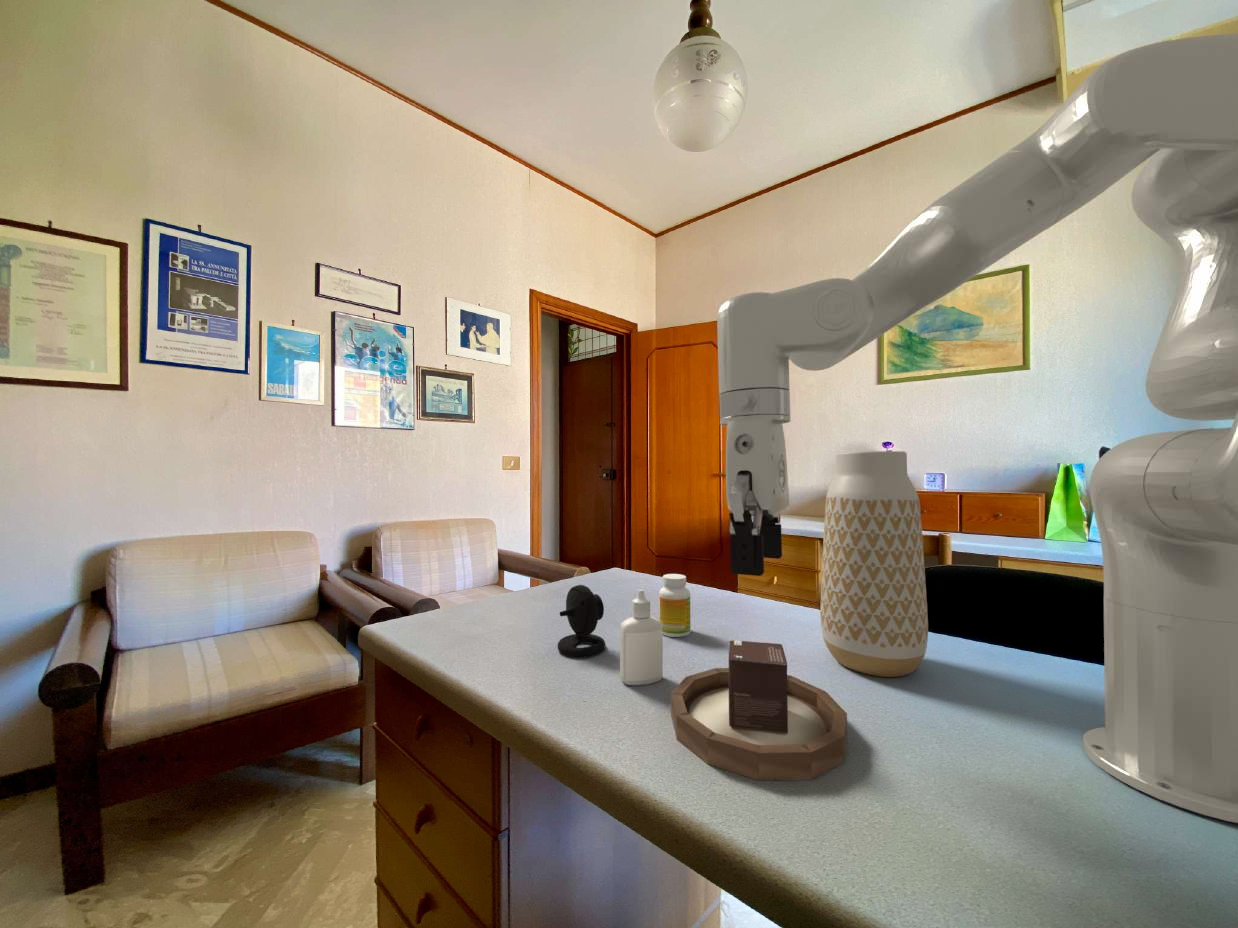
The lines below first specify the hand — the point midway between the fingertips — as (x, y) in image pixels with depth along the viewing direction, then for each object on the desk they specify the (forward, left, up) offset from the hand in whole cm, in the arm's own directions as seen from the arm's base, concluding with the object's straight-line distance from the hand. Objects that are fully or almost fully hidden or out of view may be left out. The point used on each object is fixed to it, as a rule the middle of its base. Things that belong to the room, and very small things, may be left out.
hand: (758, 565), depth 52 cm
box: (0, 0, -17) cm, 17 cm away
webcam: (+29, -9, -18) cm, 36 cm away
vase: (-11, -25, -18) cm, 32 cm away
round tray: (0, 0, -18) cm, 18 cm away
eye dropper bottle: (+16, -4, -18) cm, 25 cm away
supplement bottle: (+19, -23, -18) cm, 35 cm away
